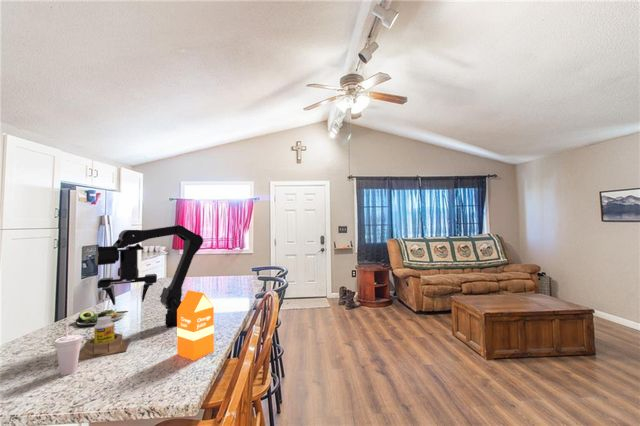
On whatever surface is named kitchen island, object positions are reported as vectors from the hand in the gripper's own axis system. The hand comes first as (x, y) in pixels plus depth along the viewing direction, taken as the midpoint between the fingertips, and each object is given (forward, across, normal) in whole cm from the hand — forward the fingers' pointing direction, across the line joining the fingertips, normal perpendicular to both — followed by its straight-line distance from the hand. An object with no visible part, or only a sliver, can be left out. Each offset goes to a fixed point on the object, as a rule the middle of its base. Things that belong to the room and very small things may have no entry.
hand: (128, 303), depth 113 cm
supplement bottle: (+12, +6, +10) cm, 17 cm away
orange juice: (+13, -22, +28) cm, 38 cm away
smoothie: (+13, +12, +24) cm, 30 cm away
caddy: (+12, +6, +10) cm, 17 cm away
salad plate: (+13, +15, -30) cm, 36 cm away
